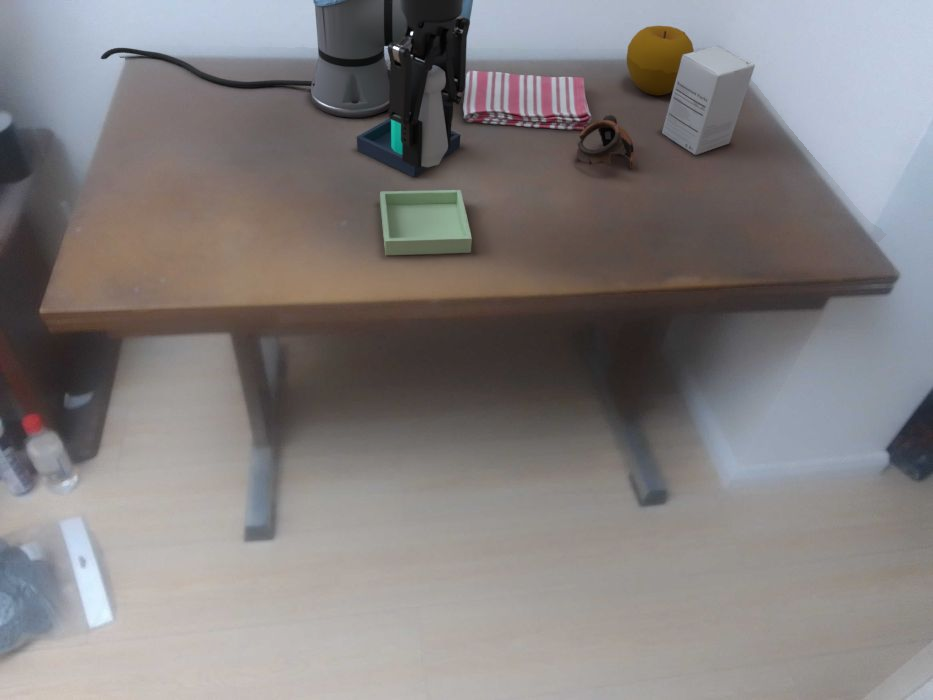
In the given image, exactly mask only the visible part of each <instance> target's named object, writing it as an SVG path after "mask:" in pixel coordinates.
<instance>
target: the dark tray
mask: <svg viewBox="0 0 933 700" xmlns="http://www.w3.org/2000/svg"><path fill="white" fill-rule="evenodd" d="M461 136H462V134H460V133H458V132H455V131H453V130H451V141H450V148H449V149H447V151H446V152H445V154H444V156H443V157H442V159H441V161H442V160H444V159H445V158H447V157H449V156H450V155H452V154H453V153H454V152H456V151H458V150H459V149H460V148H461V138H462V137H461ZM356 147H357V148H356V149H357V151H358V152H360V153H362V154H364V155H366V156H368V157H370V158H372V159H374V160H376V161H379V162H381V163H383V164H385V165H387V166H388V167H392V168H393V169H395V170H398V171H400V172H402V173H404V174H406V175H408V176H411V177H412V178H416V177H418V176H419V175H421V174H423V173H424V172H425V171H427V170H428V169H430V168H431V167H424V166H420V167H419V168H416V167H414V166H412V165H410V164H408V163H406V162H404V161H402V155H401V154H399V153H397V152H395V151H394V150H393V149H392V147H391V119H390V118H389V117H388V118H387V119H386V120H384V121H382V122H380V123H379V124H377V125H375V126H373V127H371V128H369V129H368V130H366V131H365V132H363V133H361V134H359V135H358V136H356Z"/></svg>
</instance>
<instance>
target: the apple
mask: <svg viewBox="0 0 933 700" xmlns="http://www.w3.org/2000/svg"><path fill="white" fill-rule="evenodd" d="M694 50H695V49H694V46H693V42H692V40H691V39H690V38H689V36H688V35H687V33H686V32H685V31H683V30H681V29H679V28H677V27H673V26H668V25H653V26H651V25H650V26H646V27H644V28H642V29H640V30H639V31H637V32H636V33H635V35H634V36H633V37H632V38H631V40H630V42H629V44H628V45H627V53H626V66H627V70H628V74H629V76H630V78H631V80H632V83H633V84H634V85H635V86H636V88H638V90H640V91H642V92H643V93H645V94H647V95H651V96H665V95H667V94H670V93H672V92H673V89H674V86H675V82H676V78H677V74H678V70H679V67H680V63H681V59H682V55H683V54H687V53H691V52H695V51H694Z"/></svg>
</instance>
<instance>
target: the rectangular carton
mask: <svg viewBox="0 0 933 700" xmlns="http://www.w3.org/2000/svg"><path fill="white" fill-rule="evenodd" d="M755 67H756V65H755V64H754V63H752V62H751V61H748V60H747V59H744V58H743V57H740V55H737V54H736V53H733V52H732V51H730V50H728V49H727V48H726V47H723V46H721V45H718V44H717V45H715V46H711V47H707V48H703V49H700V50H695V51H694V52H691V53H687V54H683V55H682V59H681V63H680V67H679V70H678V74H677V78H676V82H675V86H674V89H673V90H672V92H671V97H670V101H669V105H668V108H667V113H666V116H665V120H664V124H663V128H662V131H661V134H663V135H664V136H665V137H667V138H669V139H670V140H671V141H673V142H675V143H676V144H678V145H679V146H681V147H682V148H684V149H685V150H687V151H688V152H690V153H691V154H693V155H694V156H698V155H701V154H703V153H706V152H708V151H711V150H715V149H717V148H720V147H723V146H726V145H729V144H730V143H731V139H732V136H733V133H734V131H735V127H736V124H737V122H738V118H739V116H740V112H741V109H742V106H743V103H744V100H745V97H746V94H747V91H748V88H749V85H750V81H751V80H752V76H753V73H754V70H755Z"/></svg>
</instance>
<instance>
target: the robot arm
mask: <svg viewBox="0 0 933 700" xmlns="http://www.w3.org/2000/svg"><path fill="white" fill-rule="evenodd" d="M312 1H313V4H314V11H315V23H316V38H317V52H318V58H317V61H316V66H315V70H314V74H313V79H312V80H295V79H294V80H292V79H273V80H272V79H271V80H258V81H257V80H255V81H242V80H232V79H231V80H230V79H225V78H220V77H217V76H214V75H212V74H208V73H206V72H203V71H201V70H199V69H198V68H196V67H194V66H193V65H192V64H190V63H188V62H187V61H184V60H181V59H180V58H177V57H174V56H171V55H168V54H165V53H161V52H155V51H151V50H150V51H149V50H143V49H137V48H131V47H114V48H111V49H108V50H107V51H105V52H104V53H103V54H101V56H100V59H101V60H107V59H108V58H109V57H111V56H113V55H115V54H132V55H137V56H144V57H150V58H157V59H162V60H165V61H169V62H170V63H174V64H177V65H178V66H181V67H184V68H185V69H187V70H188V71H189V72H191V73H192V74H195V75H196V76H198V77H200V78H203V79H205V80H207V81H211V82H214V83H216V84H221V85H225V86H231V87H240V88H255V87H272V86H295V87H298V86H299V87H310V96H311V101H312V103H313V104H314V106H315V107H316V108H318V109H319V111H320V110H321V111H322V112H324V113H327V114H329V115H333V116H337V117H341V118H367V117H373V116H375V115H380V114H381V113H384V112H386V111H387V110H388V119H389V118H390V119H392V120H394V121H396V122H398V123H401V142H402V143H403V145H402V161H404V162H406V163H408V164H410V165H412V166H414V167H416V168H419V167H420V166H421V161H422V123H423V122H422V121H419V120H418V118H419V114H420V109H421V104H422V99H423V94H424V89H425V84H426V79H427V74H428V71H430V70H431V69H432V67H433V65H435V66H438V67H440V68H441V69H442V70H443V71H444V72H445V77H446V84H445V87H444V88H443V89H442V90H441V95H442V103H443V110H444V118H445V125H446V133H447V140H448V149H449V148H450V141H451V131H452V122H453V118H454V104H455V105H459V104H460V103H461V101H462V96H460V95H458V94H459V93H460V94H464V93H465V81H466V75H467V72H466V71H467V45H468V43H467V42H468V41H467V40H468V33H469V30H470V25H471V16H472V11H473V4H474V3H473V2H474V0H312ZM385 47H387V53H388V57H389V61H390V62H389V63H390V65H389V67H388V64H387V61H386V57H385ZM389 68H390V69H389Z"/></svg>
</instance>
